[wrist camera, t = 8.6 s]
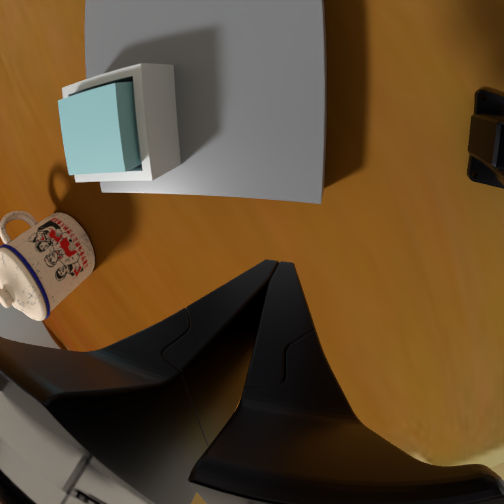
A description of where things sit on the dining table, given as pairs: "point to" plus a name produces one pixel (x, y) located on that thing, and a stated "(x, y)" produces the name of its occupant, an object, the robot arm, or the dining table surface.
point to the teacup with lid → (43, 263)
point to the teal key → (100, 130)
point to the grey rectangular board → (216, 94)
